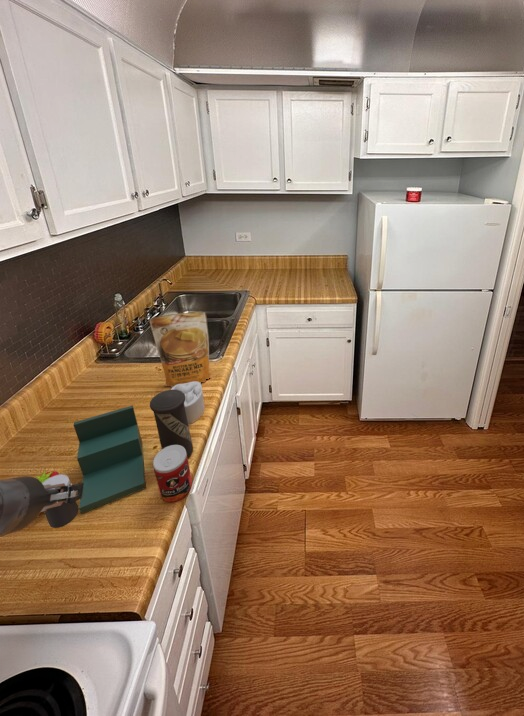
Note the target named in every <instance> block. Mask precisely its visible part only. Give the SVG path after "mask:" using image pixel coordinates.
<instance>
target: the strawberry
mask: <svg viewBox="0 0 524 716" xmlns="http://www.w3.org/2000/svg"><path fill="white" fill-rule="evenodd" d="M56 475H61V474H60V473H59V472H58V471H55V470H52V471H47V472H46V470H44V472H43V473H42V474H41V475H36V476H35V478H36V479H38V480H39V481H40V482H41V483H43V482H44V481H46V480H47V479H49V478H51V477H53V476H56Z"/></svg>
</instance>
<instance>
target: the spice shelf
mask: <svg viewBox="0 0 524 716" xmlns="http://www.w3.org/2000/svg"><path fill="white" fill-rule="evenodd" d="M73 428H74V431H75V434H76V437H77V440H78V442H79V443H78V448H77V449H78V450H77V455H76V460H77V462H78V466H79V469H80V472H81V474H82V480H81V482H82V483H84V486H83V494H82V498H81V499H79V505H78V508H79V512H80V514H85V513H87V512H89V511H92V510H95V509H97V508H99V507H102V506H105V505H107V504H109V503H112V502H114V501H117V500H119V499H122V498H125V497H128V496H130V495H133V494H136V493H137V492H141V491H142V490H145V489H146V488H147V487H146V486H147V485H146V475H145V461H144V446H143V440H142V436H141V432H140V428H139V424H138V421H137V416H136V413H135V407H134V405H133V404H132V405H129V406H125V407H121V408H118V409H115V410H111V411H107V412H105V413H101V414H97V415H94V416H91V417H88V418H84V419H81V420H80V419H79V420H77V421H73Z"/></svg>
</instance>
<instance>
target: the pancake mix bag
mask: <svg viewBox="0 0 524 716" xmlns="http://www.w3.org/2000/svg"><path fill="white" fill-rule="evenodd" d="M207 316H208V315H207V313H206V312H203V311H202V310H196V311H189V312H182V313H181V312H180V313H174V314H173V313H172V314H165V315H160V316H154V317H152V318H150V319H149V320H148V323H149V327H150V330H151V333H152V336H153V339H154V344H155V347H156V350H157V353H158V356H159V359H160V363H161V367H162V369H163V372H164V379H165V384H164V385H165V387H170V388H172V387H174V386H175V385H177V384H183V383H189V382H193V381H197V382H204V383H206V382H207V380H206V379H208V380H210V379H212V377H211V374H210V342H209V341H210V335H209V327H208V317H207ZM209 378H210V379H209ZM205 381H206V382H205Z"/></svg>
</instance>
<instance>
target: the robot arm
mask: <svg viewBox="0 0 524 716" xmlns="http://www.w3.org/2000/svg"><path fill="white" fill-rule="evenodd" d="M83 486H84V483H82V481H80V482H77V483H70V484H69V485H65V484H64V483H62V484H55V485H50V484H48V485H43V484H42V483H41V482H40V481H39V480H38V478H36V477H34V476H29V475H23V476H17V477H11V478H3V479H0V538H2V537H5V536H7V535H10V534H12V533H16V532H18V531H20V530H23V529H25V528H26V527H28V526H29V525H30V524H31V523H33V522H34V521H35V520H36V519H37V517H38V516H39V515H40V513H44V511H46V510H47V509H49V508H53V507H57V506H60V505H62V503H63V502H64V501H65V503H69V504H71V503H73V502H77V501H80V499H81V498H82V494H83ZM53 488H54V489H53ZM65 489H66V492H64V490H65Z"/></svg>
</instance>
